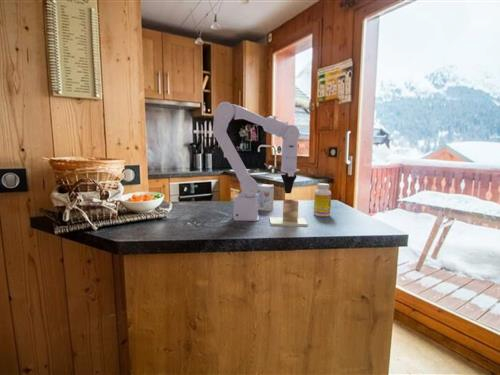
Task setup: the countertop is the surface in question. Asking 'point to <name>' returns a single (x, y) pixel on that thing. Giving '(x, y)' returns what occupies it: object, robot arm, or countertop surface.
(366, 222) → the countertop surface
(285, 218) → the beech block
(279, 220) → the sage board
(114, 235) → the countertop surface
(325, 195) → the supplement bottle
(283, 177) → the robot arm
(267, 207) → the light bulb box
